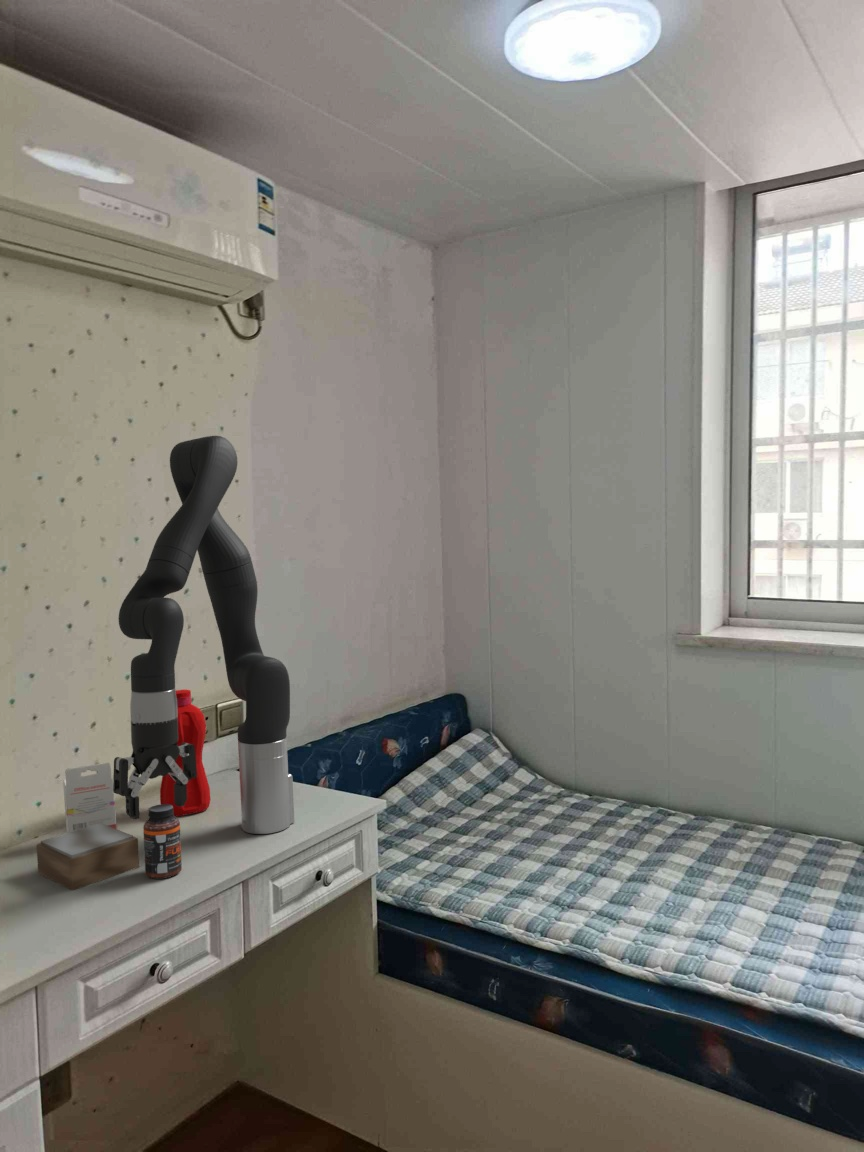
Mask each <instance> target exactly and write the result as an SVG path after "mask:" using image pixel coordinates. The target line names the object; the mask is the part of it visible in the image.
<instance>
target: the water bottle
mask: <svg viewBox="0 0 864 1152" xmlns="http://www.w3.org/2000/svg"><path fill="white" fill-rule="evenodd" d="M175 692H176V697H177V709H178V742H177V745H178V746H181V744H182V743H184V742H185V743H189V744H193V745H194V746H195V756H196V768H197V776H196V778H192V779H190V780H189V781H188V783H187V801H186V802H185V805H184V806H181V807H180V806H177V805H175V803H174V783H176V782H175V781H174V779H173V778H172V777H171V776H170V775H169V774H168V775H165V776H162V778H161V783H160V789H159V796H160V797H159V798H160V799H159V800H160V805H161V804H169V805H172V806H173V811H174V816H175V817H182V816H186V815H192V814H195V813H196V814H197V813H202V812H205V810H208V808H209V807H210V805H211V804H210V803H211V788H210V784H209V781H208V778H207V773H206V771H205V767H204V763H203V750H204V744H205V738H206V732H207V724H206V718H205V715H204V713H203V711H201V708H199V707H198V706H196V705H194V704H192V693H191V692H192V691H191V689H178V690H176V689H175ZM176 764H177V765H178V766H179V767H180V768H181V770H182V772H183V765H182V757H181V756H180V754H179V756H178V758H177V760H176Z"/></svg>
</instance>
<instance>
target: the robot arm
mask: <svg viewBox="0 0 864 1152" xmlns="http://www.w3.org/2000/svg"><path fill="white" fill-rule="evenodd" d="M169 454H170V455H169V468H170V473H171V478H172V480H173V483H174V485H175V489H176V491H177V494H178V496H179V500H180V503H181V504H182V505H181V506H179V508H178V509H177V511H176V512H175V513H174V515H173V516H172V517H171V518H170V519H169V521H168V522H167V523H166V525H165V526H164V527H163V528H162V530H161V532H160V533H159V535H158V536H157V538H156V540H155V542H154V545H153V548H152V550H151V553H150V556H149V559H148V562H147V564H146V567H145V570H144V571H143V573H142V574H141V575H140V576H139V578H138V579H137V580H136V581H135V583H134V585H133V586H132V587H131V589H130V590H129V592H128V593H127V595H125V598H124V599H123V601H122V603H121V605H120V608H119V612H118V626H119V629H120V631H121V632H122V634H123V635H124V636H125V637H127V638H130V639H133V640H151V643H150V647H149V650H148V652H146V653H141V654H138V655H135V656H134V657H133V658H132V659H131V661H130V686H131V687H130V691H131V693H130V702H129V705H130V706H129V709H130V733H131V734H130V740H131V741H130V742H131V743H130V744H131V748H132V752H131V753H132V754H131V755H130V756H127V757H119V756H116V757H115V758H114V760H113V777H112V778H113V792H114V794H116V795H118V796H122V797H125V813H126V816H128V817H129V818H130V819H132V820H138V819H140V817H141V816H140V815H141V814H140V796H138V794H139V793H140V791H141V789H142V788H143V786H145V785H146V783H147V782H148V780H149V779H150V780H153V779H156V778H158V777H161V776H165V775H168V774H169V775H170V776H171V777H172V778H173V779H174V781H175V782H176V783H174V803H175V805H177V806H180V807H181V806H184V805H185V802H186V801H187V783H188V781H189V780H190V779H192V778H196V776H197V768H196V756H195V746H194V745H193V744H189V743H185V742H184V743H182V744H181V746H178V745H177V742H178V709H177V697H176V692H175V691H176V675H175V674H176V673H175V664H176V660H177V656H178V651H179V646H180V641H181V638H182V636H183V631H184V630H183V629H184V622H185V619H184V612H183V610H182V607H181V606H180V604H179V603H178V601H176V600H175V599H173V598H171V597H170V598H169V597H166V596H167V595H170V594H173V593H176V592H180V591H181V590H183V589H184V587H185V586H186V584H187V581H188V578H189V575H190V572H191V570H192V567H193V564H194V560H195V557H196V555H197V554H198V557H199V561H200V567H201V572H202V575H203V577H204V582H205V586H206V589H207V592H208V596H209V599H210V602H211V607H212V610H213V614H214V619H215V621H216V624H217V628H218V632H219V635H220V639H221V644H222V649H223V651H222V652H223V657H224V664H225V669H226V679H227V681H228V686H229V688H230V690H231V692H232V693H233V694H234V695H235V696H236V697H237V698H238V699H240V700H241V701H244V702H245V720H244V722H242V723H240V724H239V725H238V726H237V746H238V747H237V748H238V749H237V750H238V765H239V766H238V769H239V790H240V791H239V793H240V813H241V815H240V816H241V829H242V831H243V832H246V833H248V834H251V835H252V834H254V835H265V834H272V833H278V832H281V831H284V830H286V829H288V827H290V826H291V824H294V823H295V808H294V807H295V802H294V780H293V778H294V777H293V775H292V774H291V773H289V762H288V760H289V757H288V743H287V742H288V739H287V728H288V726H289V723H290V718H291V717H290V716H291V715H290V714H291V686H290V685H291V684H290V676H289V675H290V674H289V672H288V670H287V668H286V666H285V664H284V663H283V662H282V661H280V659H277V658H275V657H270V656H265V655H264V653H263V650H262V646H261V644H260V640H259V637H258V634H257V628H256V627H257V626H256V611H257V604H258V603H257V601H258V591H259V590H258V582H257V576H256V573H255V568H254V564H253V561H252V556H251V554H250V551H249V549H248V547H247V546H246V545H245V543H244V542H243V541H242V539H241V538H240V537H239V536H238V534H237V533H236V532H235V531H234V530H233V528H232V527H231V526H230V525H229V524H228V523H227V521H226V520H225V519H224V517H223V516H222V514H221V512H220V511H219V506H220V503H222V500H223V498H224V497H225V495H226V493H227V491H228V489H229V488H230V486H231V484H232V482H233V480H234V478H235V475H236V472H237V469H238V456H237V455H238V454H237V451H236V449H235V446H234V445H233V444H232V443H231V442H230V441H229V439H228V438H226V437H223V436H221V435H210V436H209V435H208V436H202V437H198V438H194V439H189V440H185V441H184V440H183V441H181V442H179V443H177V444H175V445H174V446H173V447H172V449H171V451H170V453H169ZM179 754H180V756H181V757H182V765H183V772H182V770H181V768H180V767H179V766H178V765H177V764H176V760H177V758H178V756H179ZM131 766H133V767H134V769H133V770H132V772H131V774H130V775H129V771H130V770H131Z"/></svg>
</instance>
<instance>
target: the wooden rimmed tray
mask: <svg viewBox="0 0 864 1152" xmlns="http://www.w3.org/2000/svg"><path fill="white" fill-rule="evenodd" d="M139 851H140V850H139V838H138V837H135V836H134V835H132V834H130V833H127V832H125V831H123V830H119V829H118V828H117V829H115V828H112V827H109V826H107V825H104V824H101V823H100V824H97V825H93V826H90V827H87V828H83V829H80V830H77V831H73V832H70V833H67V832H66V833H64V834H61V835H57V836H54V837H50V838H47V839H44V840H40V843H37V844H36V858H37V873H38V874H39V875H42V876H44V877H46V878H47V879H50V880H52V881H53V882H56V883H58V884H59V885H62V886H64V888H65V887H66V888H68V889H70V890H72V891H74V890H77V889H80V888H82V887H85V886H86V887H87V886H88V885H91V884H94V883H98V882H100V881H103V880H106V879H108V878H111V877H115V876H117V875H120V874H123V873H125V871H126V872H129V871H131V869H132V870H134V868H135V869H137V868H140V855H139V854H140V852H139ZM136 867H137V868H136ZM128 870H129V871H128Z"/></svg>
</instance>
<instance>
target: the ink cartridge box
mask: <svg viewBox="0 0 864 1152" xmlns="http://www.w3.org/2000/svg"><path fill="white" fill-rule="evenodd" d="M87 771H90V772H96V773H93V774H87V775H81V774H82V773H87ZM64 773H65V779H62V780H63V781H62V782H63V783H62V784H63V785H62V786H63V796H64V813H65V824H66V825H65V827H66V828H65V829H66V834H67V833H70V832H73V831H77V830H80V829H83V828H87V827H90V826H93V825H97V824H100V823H101V824H104V825H107V826H109V827H112V828H115V829H117V830H118V828H117V816H116V815H117V813H116V803H115V802H116V800H115V793H114V792H113V778H114V777H113V776H112V773H113V772H112V764H111V762H105V763H104V762H103V763H97V764H90V765H83V766H78V767H77V766H76V767H71V768H69V767H68V768H67V769H65V770H64Z"/></svg>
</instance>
